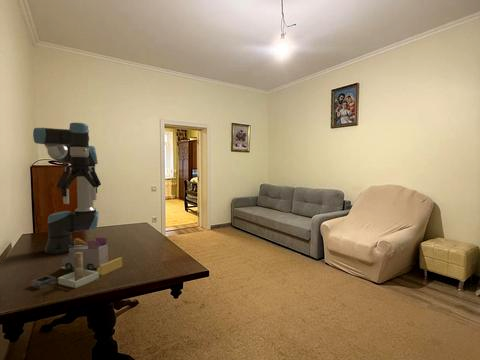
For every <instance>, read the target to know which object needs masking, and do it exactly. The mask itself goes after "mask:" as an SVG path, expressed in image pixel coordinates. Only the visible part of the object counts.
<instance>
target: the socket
mask: <svg viewBox="0 0 480 360" xmlns="http://www.w3.org/2000/svg"><path fill="white" fill-rule="evenodd" d="M56 283H57V277H56V276H52V275H48V274H47V275H44V276H43V275H42V276H41V277H38V278H35V279H32V280H30V287H32V288H35V289H39V290H43V289H45V288H47V287H50V286H53V284H56Z"/></svg>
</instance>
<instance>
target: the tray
mask: <svg viewBox="0 0 480 360" xmlns="http://www.w3.org/2000/svg"><path fill="white" fill-rule="evenodd" d="M99 278H100V276H99V272H95V271H90V270H86V269H83V278H82V279H80V280H77V281H75V271H73V272H70V273H67V274H64V275H62V276H60V277H58V278H57V283H58V285H62V286H65V287H69V288H73V289H77V288H79V287H82V286H84V285H87V284H89V283H90V282H93V281H95V280H97V279H99Z"/></svg>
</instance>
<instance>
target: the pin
mask: <svg viewBox="0 0 480 360" xmlns="http://www.w3.org/2000/svg"><path fill="white" fill-rule="evenodd" d="M74 265H75V271H74V272H75V281H77V280H80V279H82V278H83V252H77V253H74Z"/></svg>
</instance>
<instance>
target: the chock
mask: <svg viewBox="0 0 480 360" xmlns="http://www.w3.org/2000/svg"><path fill="white" fill-rule="evenodd" d="M121 267H123V257H118V258H115V259H112V260H109V262H107V263H105V264H102V265H100V267H99V268H97V272H99V275H100V276H104V275H106V274H109V273H110V272H113V271H115V270H118V269H120V268H121Z"/></svg>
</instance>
